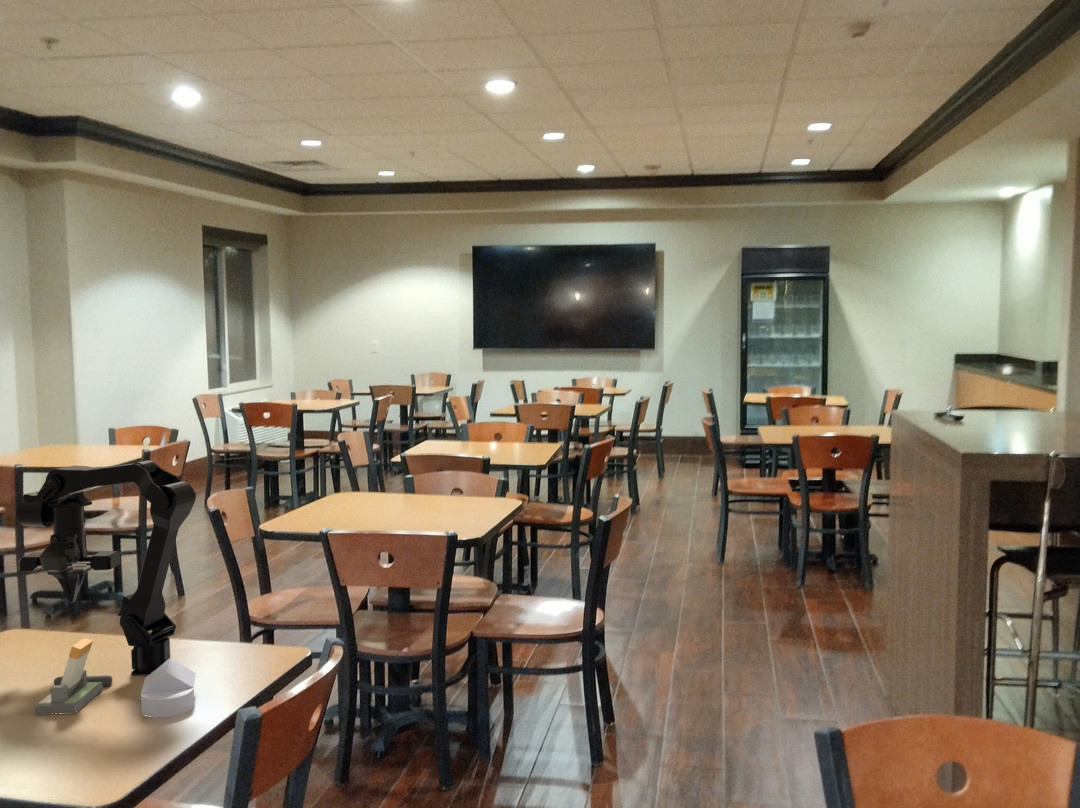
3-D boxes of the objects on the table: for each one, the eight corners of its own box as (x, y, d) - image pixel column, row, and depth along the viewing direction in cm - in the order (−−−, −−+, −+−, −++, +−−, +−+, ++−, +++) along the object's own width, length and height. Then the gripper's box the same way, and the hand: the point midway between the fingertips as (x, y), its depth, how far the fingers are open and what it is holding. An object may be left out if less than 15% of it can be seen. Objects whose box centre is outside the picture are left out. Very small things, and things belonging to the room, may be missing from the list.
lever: (79, 687, 188) (94, 640, 188) (66, 698, 183) (81, 650, 182) (69, 684, 188) (83, 637, 188) (55, 694, 183) (70, 646, 182)
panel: (102, 690, 192) (101, 667, 191) (74, 713, 180) (73, 690, 179) (65, 690, 192) (64, 668, 191) (35, 714, 180) (34, 690, 179)
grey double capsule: (115, 681, 197) (115, 672, 197) (108, 687, 193) (108, 678, 193) (60, 681, 196) (59, 673, 196) (52, 688, 193) (51, 678, 193)
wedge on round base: (145, 695, 189) (139, 720, 176) (144, 660, 188) (137, 683, 176) (196, 690, 191) (193, 714, 179) (194, 655, 191) (191, 677, 178)
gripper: (2, 536, 197) (6, 613, 198) (97, 534, 197) (100, 612, 199) (30, 525, 208) (33, 599, 209) (120, 524, 209) (123, 597, 210)
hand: (72, 602), depth 207 cm, fingers closed
